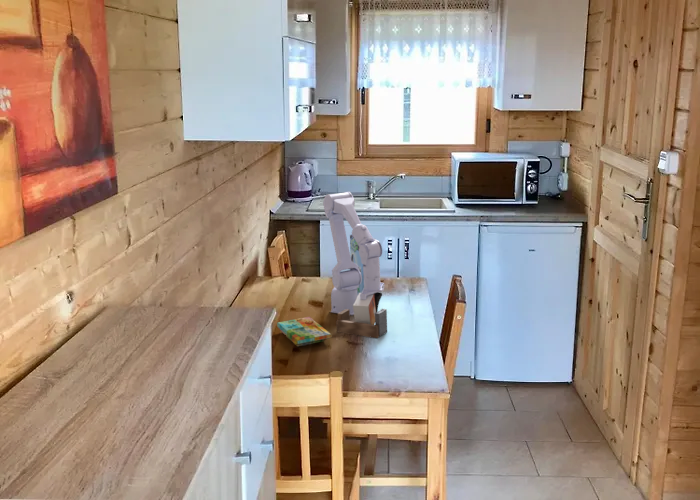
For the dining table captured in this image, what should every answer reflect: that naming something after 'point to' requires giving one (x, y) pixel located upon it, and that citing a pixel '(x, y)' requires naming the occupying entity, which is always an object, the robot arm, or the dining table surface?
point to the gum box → (356, 260)
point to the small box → (365, 309)
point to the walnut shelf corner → (355, 326)
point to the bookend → (381, 321)
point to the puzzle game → (303, 331)
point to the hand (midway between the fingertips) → (373, 313)
